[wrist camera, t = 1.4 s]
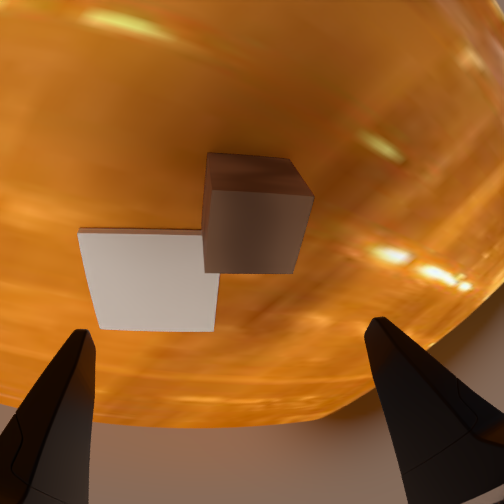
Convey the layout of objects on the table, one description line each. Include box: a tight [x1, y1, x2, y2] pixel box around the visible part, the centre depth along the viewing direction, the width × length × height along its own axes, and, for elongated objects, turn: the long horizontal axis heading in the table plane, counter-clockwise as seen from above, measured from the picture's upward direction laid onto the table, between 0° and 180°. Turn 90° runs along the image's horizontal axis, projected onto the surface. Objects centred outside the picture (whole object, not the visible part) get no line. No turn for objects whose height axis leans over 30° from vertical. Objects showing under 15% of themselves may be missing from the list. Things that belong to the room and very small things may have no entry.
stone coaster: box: [77, 228, 220, 332], centre depth 24 cm, size 10×10×1 cm
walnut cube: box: [201, 153, 315, 274], centre depth 18 cm, size 5×5×5 cm
